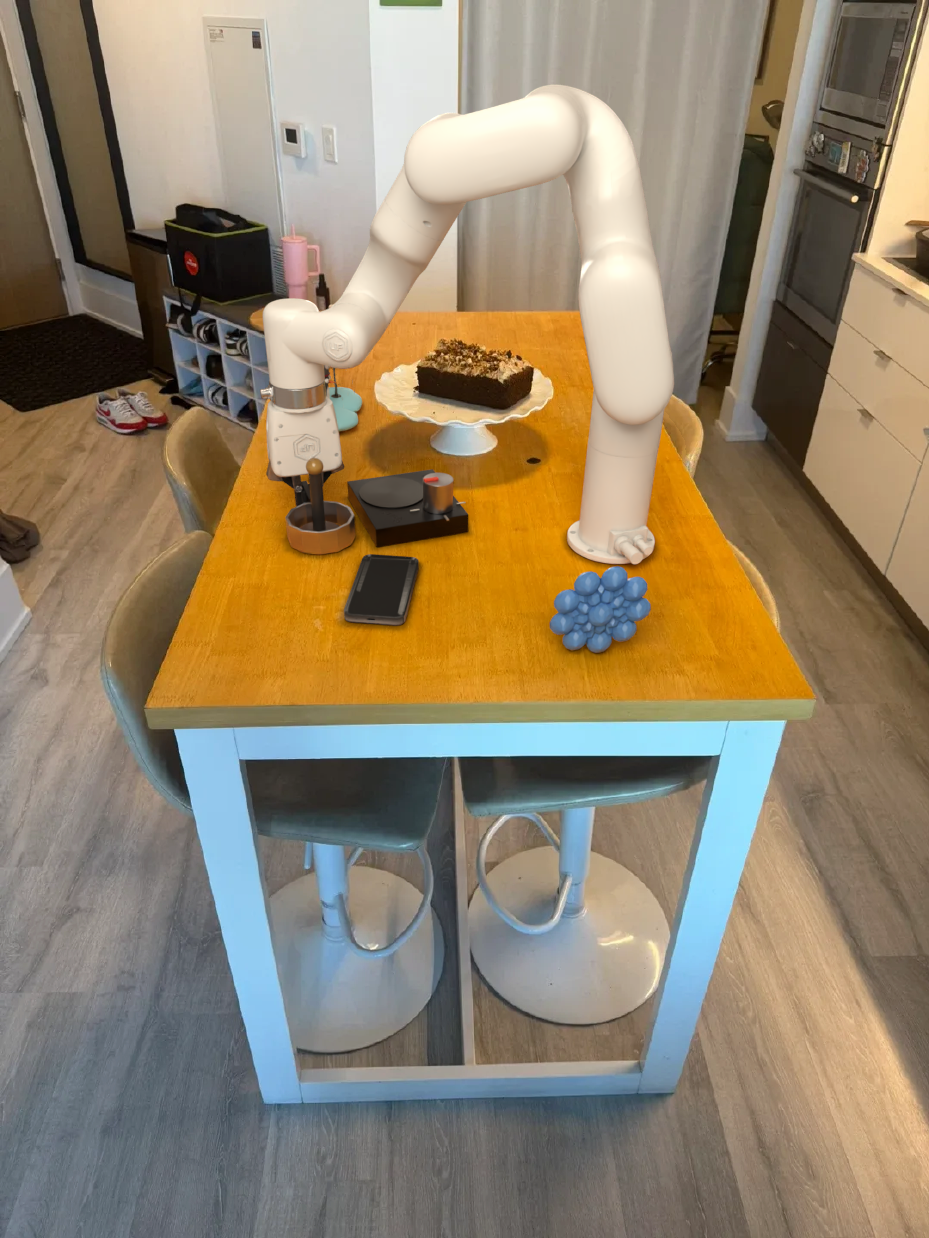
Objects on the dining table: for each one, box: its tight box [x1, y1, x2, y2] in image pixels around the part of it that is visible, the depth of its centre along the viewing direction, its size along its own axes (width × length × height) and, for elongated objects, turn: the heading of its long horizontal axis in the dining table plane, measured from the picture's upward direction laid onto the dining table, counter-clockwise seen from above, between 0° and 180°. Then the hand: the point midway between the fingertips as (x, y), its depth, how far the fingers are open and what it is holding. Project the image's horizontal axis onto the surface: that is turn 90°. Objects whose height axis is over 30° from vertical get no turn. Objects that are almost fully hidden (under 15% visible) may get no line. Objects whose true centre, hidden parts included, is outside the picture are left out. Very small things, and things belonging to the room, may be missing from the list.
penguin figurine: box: [324, 365, 363, 432], centre depth 164 cm, size 20×11×15 cm, turn 1°
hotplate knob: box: [423, 472, 454, 514], centre depth 132 cm, size 4×4×5 cm
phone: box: [343, 553, 420, 626], centre depth 119 cm, size 8×1×15 cm
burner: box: [359, 477, 423, 508], centre depth 137 cm, size 10×10×1 cm
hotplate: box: [346, 468, 469, 548], centre depth 136 cm, size 17×15×3 cm
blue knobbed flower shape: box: [549, 565, 652, 654], centre depth 107 cm, size 12×7×12 cm, turn 89°
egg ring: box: [284, 480, 357, 555], centre depth 132 cm, size 16×9×4 cm, turn 21°
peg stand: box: [300, 458, 341, 531], centre depth 127 cm, size 6×6×13 cm
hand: (309, 510), depth 136 cm, fingers closed on egg ring, 1 cm apart
